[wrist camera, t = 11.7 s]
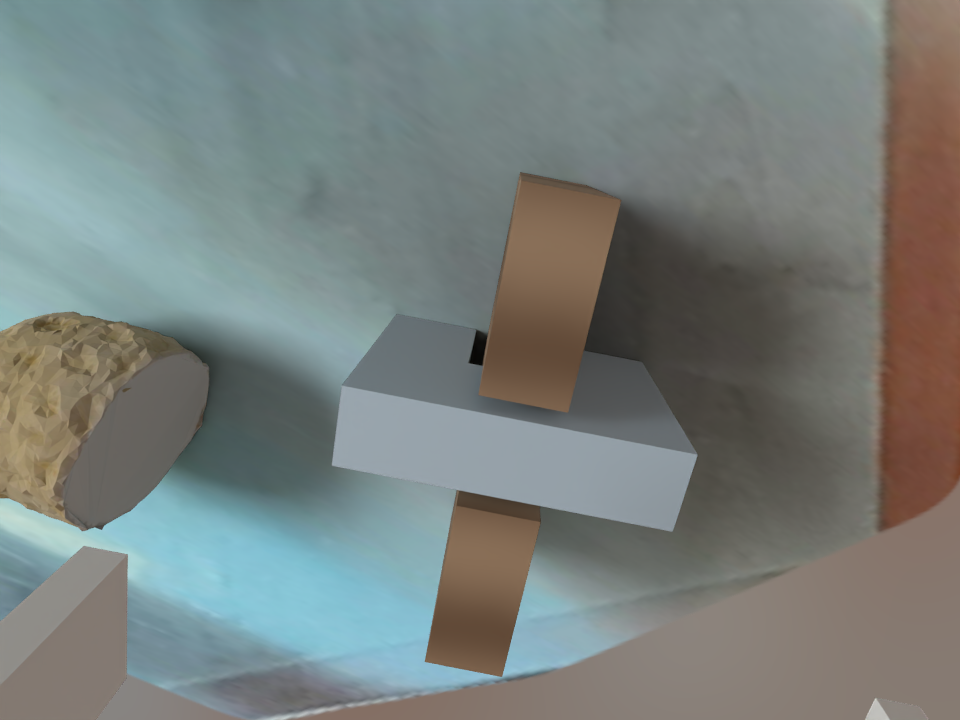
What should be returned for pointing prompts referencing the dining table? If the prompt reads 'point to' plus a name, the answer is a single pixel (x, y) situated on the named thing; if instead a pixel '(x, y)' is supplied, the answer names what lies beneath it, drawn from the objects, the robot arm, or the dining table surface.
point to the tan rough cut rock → (92, 414)
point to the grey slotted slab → (513, 430)
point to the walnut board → (527, 380)
